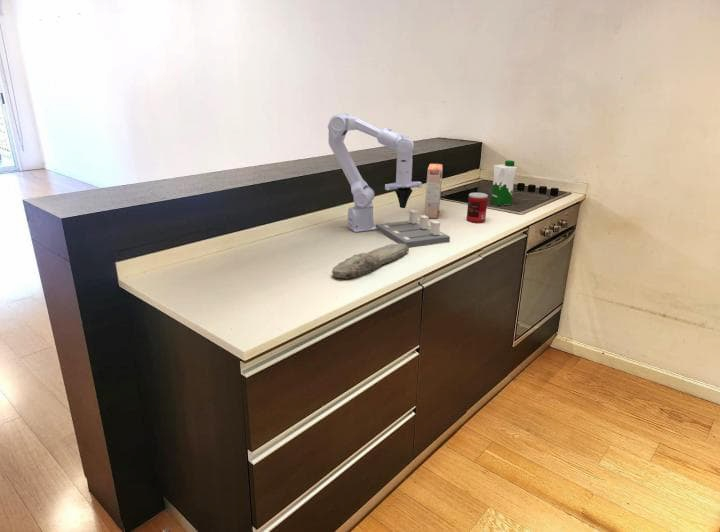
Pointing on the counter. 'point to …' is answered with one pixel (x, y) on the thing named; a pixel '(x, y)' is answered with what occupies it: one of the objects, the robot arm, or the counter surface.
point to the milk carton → (503, 183)
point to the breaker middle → (423, 222)
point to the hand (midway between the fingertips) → (402, 207)
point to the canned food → (477, 207)
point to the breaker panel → (411, 234)
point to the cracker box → (433, 190)
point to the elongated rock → (369, 261)
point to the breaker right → (435, 227)
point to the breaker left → (413, 216)
